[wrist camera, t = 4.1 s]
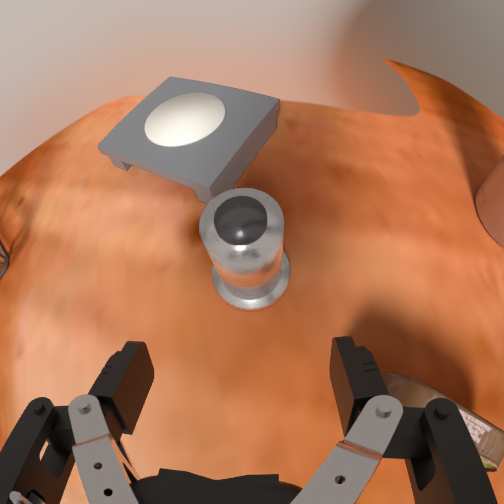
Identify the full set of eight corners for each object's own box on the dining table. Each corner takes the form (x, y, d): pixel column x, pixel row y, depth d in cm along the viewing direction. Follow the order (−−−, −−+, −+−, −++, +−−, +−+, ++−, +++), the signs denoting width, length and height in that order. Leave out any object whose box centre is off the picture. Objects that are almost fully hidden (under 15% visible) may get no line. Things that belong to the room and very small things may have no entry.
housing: (301, 259, 27) (313, 197, 18) (267, 324, 25) (263, 290, 16) (237, 229, 29) (222, 162, 20) (200, 289, 26) (165, 240, 18)
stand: (279, 126, 34) (279, 96, 30) (217, 213, 29) (208, 185, 25) (176, 99, 38) (169, 74, 34) (110, 168, 34) (95, 144, 29)
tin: (336, 400, 22) (367, 406, 14) (358, 368, 23) (396, 358, 15) (456, 467, 17) (510, 483, 9) (473, 438, 18) (530, 444, 10)
